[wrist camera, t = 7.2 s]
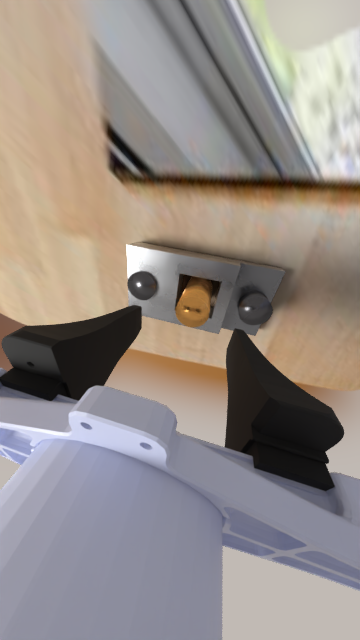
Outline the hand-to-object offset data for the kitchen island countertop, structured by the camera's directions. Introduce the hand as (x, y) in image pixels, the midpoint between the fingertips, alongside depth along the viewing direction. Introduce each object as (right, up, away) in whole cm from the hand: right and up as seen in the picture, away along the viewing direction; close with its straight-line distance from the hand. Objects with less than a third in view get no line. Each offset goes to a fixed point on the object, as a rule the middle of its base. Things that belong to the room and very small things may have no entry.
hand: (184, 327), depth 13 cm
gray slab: (+2, +5, +8) cm, 9 cm away
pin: (+2, +5, +8) cm, 9 cm away
